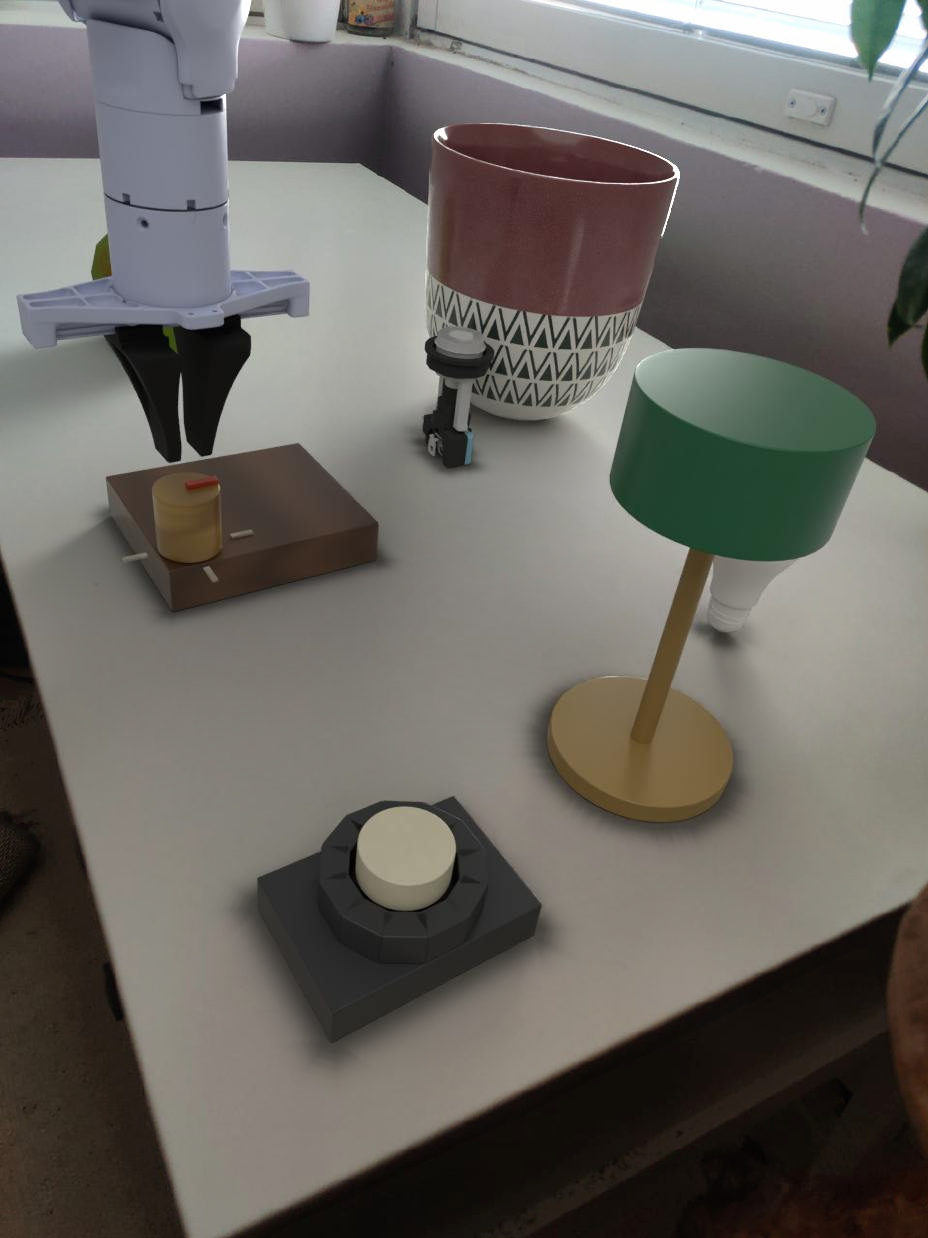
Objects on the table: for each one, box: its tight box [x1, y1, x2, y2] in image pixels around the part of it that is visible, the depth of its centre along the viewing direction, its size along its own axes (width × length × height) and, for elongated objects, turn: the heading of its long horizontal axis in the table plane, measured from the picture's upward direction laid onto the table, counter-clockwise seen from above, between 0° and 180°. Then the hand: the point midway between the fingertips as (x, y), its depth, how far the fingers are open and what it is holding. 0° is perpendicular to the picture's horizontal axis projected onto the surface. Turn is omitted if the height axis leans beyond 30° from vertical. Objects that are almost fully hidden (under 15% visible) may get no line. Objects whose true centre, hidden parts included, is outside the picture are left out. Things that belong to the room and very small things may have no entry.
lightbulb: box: [705, 555, 800, 633], centre depth 58 cm, size 6×6×11 cm
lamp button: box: [355, 807, 456, 911], centre depth 38 cm, size 4×4×2 cm
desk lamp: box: [546, 347, 877, 823], centre depth 45 cm, size 10×10×21 cm
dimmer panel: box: [105, 442, 380, 612], centre depth 61 cm, size 16×14×3 cm
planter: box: [424, 122, 680, 421], centre depth 79 cm, size 20×20×21 cm
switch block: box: [256, 795, 543, 1043], centre depth 40 cm, size 10×7×4 cm
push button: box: [420, 326, 494, 468], centre depth 74 cm, size 7×5×10 cm
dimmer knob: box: [152, 472, 222, 563], centre depth 55 cm, size 4×4×4 cm
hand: (183, 451), depth 53 cm, fingers closed
